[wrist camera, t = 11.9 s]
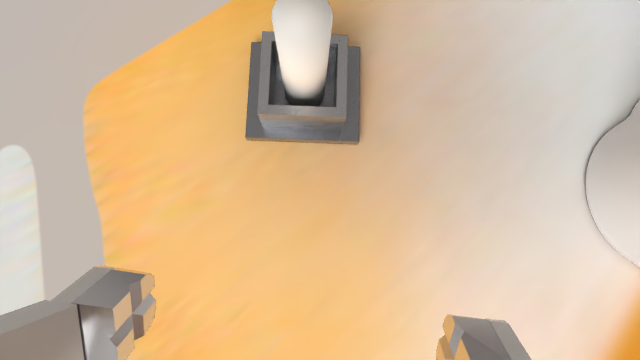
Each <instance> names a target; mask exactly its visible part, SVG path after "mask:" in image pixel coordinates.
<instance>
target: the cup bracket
mask: <svg viewBox="0 0 640 360" xmlns="http://www.w3.org/2000/svg"><path fill="white" fill-rule="evenodd" d="M359 88H360V47H348V35H331V39H330V48H329V57H328V66H327V75H326V84H325V93H324V97H323V99H322V101H321V102H320V104H319V105H317V106H292V105H291V104H290V103H289V102H288V100H287V99H286V96H285V91H284V85H283V80H282V74H281V68H280V63H279V57H278V51H277V46H276V40H275V34H274V32H266V31H262V43H260V42H252V43H251V58H250V74H249V90H248V105H247V121H246V139H247V140H252V141H279V142H305V143H332V144H358V142H359Z"/></svg>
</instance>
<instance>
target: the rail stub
mask: <svg viewBox="0 0 640 360" xmlns="http://www.w3.org/2000/svg"><path fill="white" fill-rule="evenodd" d="M332 21H333V13H332V9H331V6H330V4H329V3H328V1H327V0H277V1H276V3H275V5H274V7H273V10H272V23H273V29H274V34H275V40H276V46H277V51H278V57H279V63H280V68H281V74H282V80H283V85H284V91H285V96H286V99H287V100H288V102H289V103H290V104H291V105H292V106H317V105H319V104H320V102H321V101H322V99H323V97H324V93H325V84H326V75H327V66H328V57H329V48H330V39H331V30H332Z"/></svg>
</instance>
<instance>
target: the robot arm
mask: <svg viewBox="0 0 640 360" xmlns="http://www.w3.org/2000/svg"><path fill="white" fill-rule="evenodd" d="M586 195H587V200H588V205H589V208H590V211H591V214H592V216H593V219H594V221H595V223H596V225H597V227H598V228H599V230H600V232H601V233H602V235H603V236H604V237H605V239H606V240H607V241H608V242H609V243H610V244H611V246H612V247H613V248H614V249H615V250H617V251H618V252H619V253H620V254H621V255H623V256H624V257H625V258H627V259H628V260H630V261H631V262H632V263H634V264H635V265H637V266H638V267H640V99H639V101H638V102H637V103H636V105H635V107H634V108H633V110H632V112H631V114H630V116H629V117H628V118H627V119H625V120H624V121H623V122H621V123H620V124H618V125H617V126H615V127H614V128H612V129H611V130H610V131H608V132H607V133H606V134H605V135H604V136H603V137H602V138H601V140H600V141H599V142H598V144H597V145H596V147H595V148H594V150H593V152H592V154H591V157H590V160H589V163H588V167H587V172H586ZM154 287H155V281H154V276H153V275H152V274H151V273H146V272H139V271H133V270H127V269H121V268H114V267H107V266H95V267H93V268H92V269H91V270H89V271H88V272H87V273H86V274H85V275H83V276H82V277H80V278H79V279H78V280H77V281H75V282H74V283H73V284H72V285H70V286H69V287H68V288H66V289H65V290H64V291H63V292H61V293H60V294H59V295H58V296H56V297H55V298H54V299H52V300H51V301H47V300H44V301H41V302H38V303H35V304H32V305H29V306H27V307H24V308H21V309H18V310H15V311H12V312H9V313H7V314H4V315H1V316H0V360H126V359H127V358H128V356H129V355H130V354H131V352H132V351H133V350H134V348H135V346H134V340H136V339H138V338H140V337H142V336H144V335H145V334H146V332H147V331H148V329H149V328H150V326H151V324H152V322H153V319H154V317H155V311H156V300H155V298H154V297H153V296H152V295H151V293H150V292H151V291H152V290H153V288H154ZM443 329H444V332H445V335H444V336H443V337H442V338H441V339H439V342H438V346H437V354H436V360H531V358H530V357H529V355H528V353H527V352H526V350H525V349H524V347H523V346H522V344H521V342H520V341H519V339H518V338H517V336H516V335H515V333H514V331H513V330H512V328H511V327H510V325H509V324H508V323H507V322H506V321H503V320H493V319H479V318H472V317H464V316H456V315H449V314H447V316H446V318H445V320H444V323H443Z"/></svg>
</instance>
